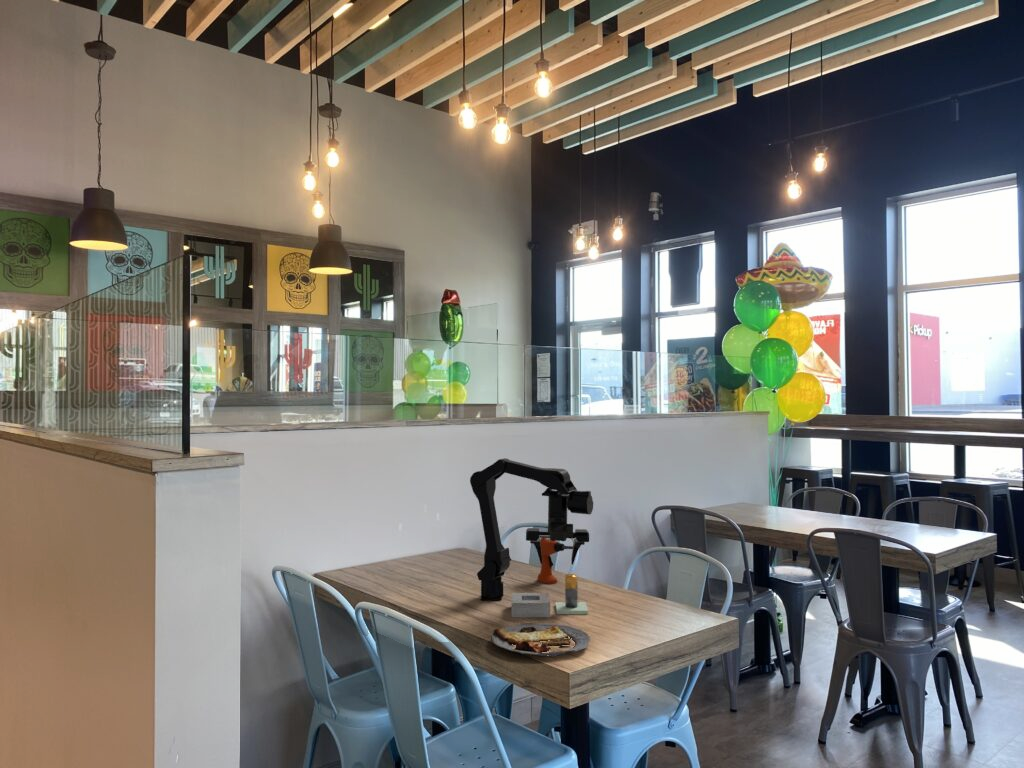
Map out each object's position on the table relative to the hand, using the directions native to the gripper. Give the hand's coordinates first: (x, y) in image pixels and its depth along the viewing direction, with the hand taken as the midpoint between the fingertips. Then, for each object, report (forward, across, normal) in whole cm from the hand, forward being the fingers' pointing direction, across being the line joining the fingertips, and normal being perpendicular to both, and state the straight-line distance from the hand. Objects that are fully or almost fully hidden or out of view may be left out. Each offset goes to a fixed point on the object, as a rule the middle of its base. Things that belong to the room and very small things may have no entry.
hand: (556, 563), depth 231 cm
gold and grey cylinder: (+11, +4, -4) cm, 13 cm away
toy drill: (+13, +1, +26) cm, 29 cm away
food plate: (+13, -5, -35) cm, 38 cm away
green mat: (+12, +4, -4) cm, 14 cm away
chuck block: (+13, -8, -6) cm, 16 cm away
